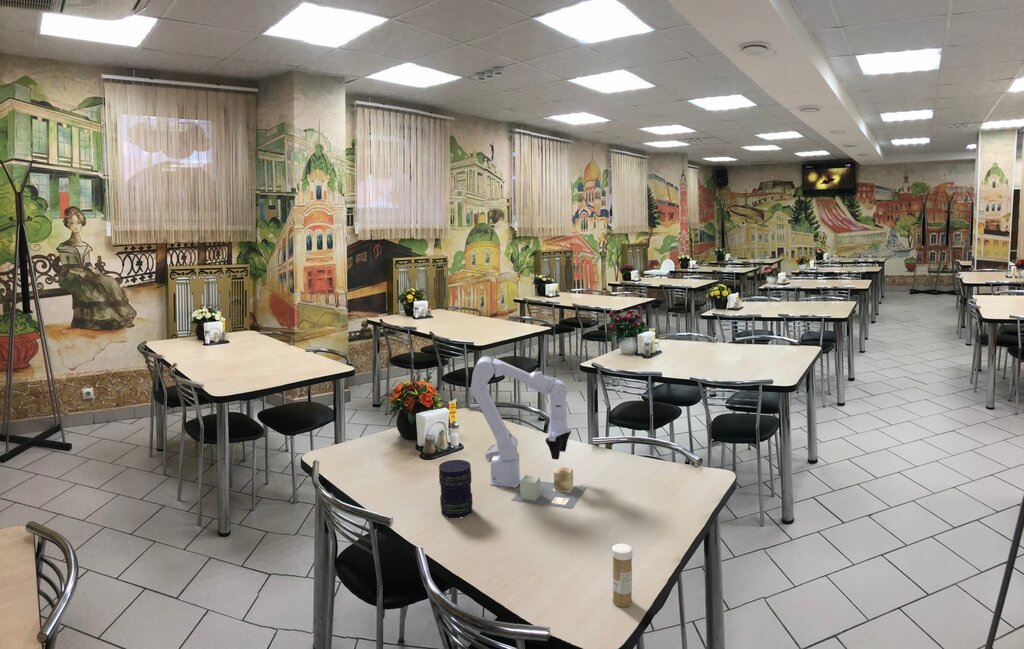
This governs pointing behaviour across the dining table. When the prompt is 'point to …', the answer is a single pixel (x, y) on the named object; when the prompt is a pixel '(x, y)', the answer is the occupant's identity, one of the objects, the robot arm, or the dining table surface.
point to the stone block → (492, 452)
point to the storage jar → (455, 488)
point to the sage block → (530, 487)
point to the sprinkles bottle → (622, 575)
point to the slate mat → (555, 496)
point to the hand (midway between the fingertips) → (558, 455)
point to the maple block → (563, 479)
